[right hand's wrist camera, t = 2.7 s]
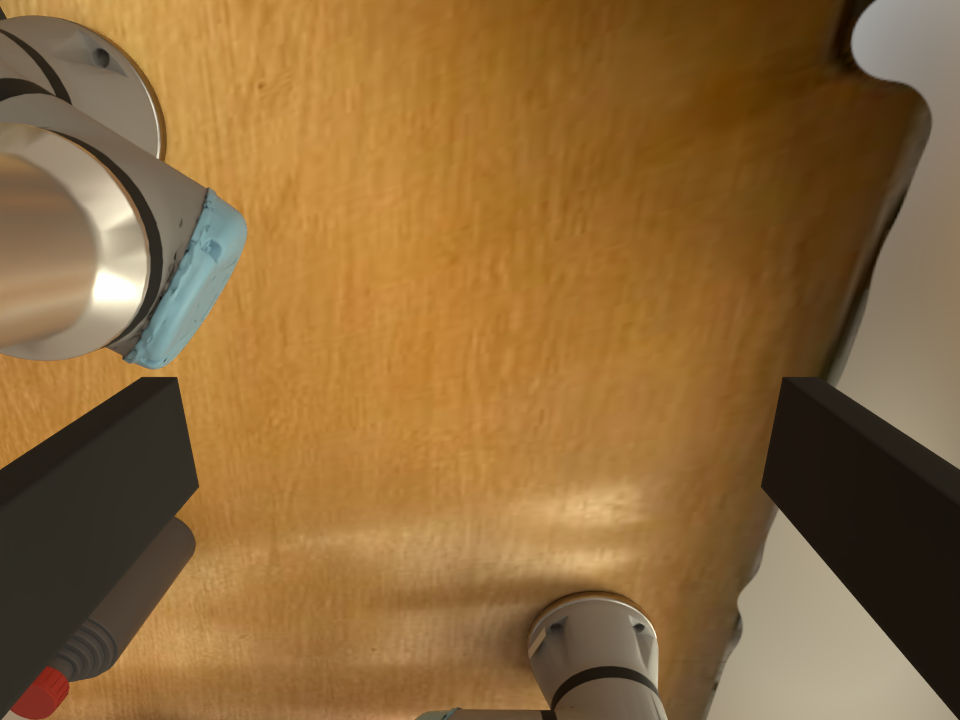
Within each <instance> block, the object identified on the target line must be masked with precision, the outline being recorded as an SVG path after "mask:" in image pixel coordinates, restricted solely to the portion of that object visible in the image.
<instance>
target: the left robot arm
mask: <svg viewBox="0 0 960 720" xmlns="http://www.w3.org/2000/svg"><path fill="white" fill-rule="evenodd" d="M166 144H167V143H166V127H165V121H164V116H163V113H162V109H161V106H160V103H159V101H158V98H157V96H156V93H155V91H154V89H153V87H152V86H151V84H150V82H149V80H148V79H147V77H146V76H145V74H144V73H143V71H142V70H141V69H140V67H139V66H138V65H137V64H136V62H135V61H134V60H133V59H132V58H131V57H130V56H129V55H128V54H127V53H126V52H125V51H124V50H123V49H122V48H121V47H119V46H118V45H117V44H116V43H114V42H113V41H112V40H110V39H109V38H107V37H105V36H104V35H102V34H101V33H99V32H97V31H95V30H93V29H90V28H88V27H86V26H83V25H80V24H77V23H74V22H71V21H68V20H64V19H60V18H55V17H46V16H19V17H14V18H9V19H7V18H6V16H5V14H4V13H3V11H2V9H1V7H0V353H1V354H5V355H9V356H12V357H16V358H22V359H28V360H42V361H52V360H65V359H70V358H74V357H79V356H82V355H85V354H87V353H90V352H93V351H96V350H98V349H101V348H104V347H107V348H109V349H111V350H113V351H115V352H117V353H119V354H121V355H123V358H122V359H123V360H124V361H126V362H128V363H135V364H138V365H140V366H143V367H145V368H148V369H159V368H162V367H164V366H166V365H167V364H169V363H170V362H171V361H172V360H173V359H174V358H175V357H176V356H177V355H178V354H179V353H180V352H181V351H182V349H183V348H184V347H185V346H186V345H187V343H188V342H189V341H190V339H191V338H192V337H193V335H194V334H195V332H196V331H197V330H198V328H199V327H200V325H201V324H202V323H203V321H204V320H205V318H206V317H207V315H208V313H209V312H210V310H211V309H212V307H213V305H214V304H215V302H216V300H217V299H218V297H219V295H220V294H221V292H222V290H223V289H224V287H225V285H226V283H227V282H228V280H229V278H230V276H231V274H232V272H233V270H234V268H235V266H236V264H237V262H238V260H239V258H240V255H241V253H242V251H243V248H244V245H245V242H246V238H247V224H246V221H245V219H244V217H243V216H242V215H241V213H240V212H239V211H237V210H236V209H235V208H233V207H232V206H231V205H229V204H228V203H226V202H225V201H224V200H222V199H221V198H220V197H218V196H217V195H216V192H215V191H214V190H212V189H210V188H209V187H208V188H205V187H203V186H202V185H200V184H198V183H197V182H195V181H193V180H192V179H190V178H189V177H187V176H185V175H184V174H182V173H180V172H179V171H177V170H176V169H174V168H172V167H171V166H169V165H168V164H166V163H164V160H165V155H166Z"/></svg>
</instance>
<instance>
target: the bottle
mask: <svg viewBox="0 0 960 720" xmlns="http://www.w3.org/2000/svg"><path fill="white" fill-rule="evenodd" d="M194 551H195V539H194V536H193V534H192V532H191V530H190V529H189V528H188V527H187V525H186V524H184V523H183V522H182V521H181V520H179V519H177V518H176V517H173V518H172V519H171V520H170V522H169V523H168V524H167V525H166V526H165V527H164V529H163V530H162V531H161V532H160V533H159V535H158V536H157V537H156V538H155V539H154V540H153V542H152V543H151V544H150V545H149V546H148V548H147V549H146V550H145V551H144V552H143V553H142V555H141V556H140V557H139V558H138V559H137V560H136V562H135V563H134V564H133V565H132V566H131V568H130V569H129V570H128V571H127V572H126V573H125V575H124V576H123V577H122V578H121V579H120V580H119V582H118V583H117V584H116V585H115V586H114V588H113V589H112V590H111V591H110V592H109V593H108V595H107V596H106V597H105V598H104V599H103V601H102V602H101V603H100V604H99V605H98V606H97V608H96V609H95V610H94V611H93V612H92V613H91V615H90V616H89V617H88V618H87V619H86V621H85V622H84V623H83V624H82V625H81V626H80V628H79V629H78V630H77V631H76V632H75V633H74V635H73V636H72V637H71V638H70V639H69V641H68V642H67V643H66V644H65V645H64V646H63V648H62V649H61V650H60V651H59V652H58V654H57V655H56V656H55V657H54V658H53V659H52V661H51V662H50V663H49V664H48V665H47V666H49V667H52V668H54V669H56V670H58V671H59V672H61V673H62V674H63V675H64V676H65V677H66V679H67V680H68V682H74V681H78V680H84V679H89V678H93V677H96V676H98V675H100V674H102V673H103V672H105V671H107V670H108V669H110V668H111V667H112V666H113V665H114V664H115V662H116V661H117V660H118V658H119V657H120V655H121V654H122V653H123V651H124V650H125V648H126V647H127V646H128V644H129V643H130V642H131V640H132V639H133V637H134V636H135V635H136V633H137V632H138V630H139V629H140V628H141V626H142V625H143V623H144V622H145V621H146V619H147V618H148V616H149V615H150V614H151V612H152V611H153V610H154V608H155V607H156V605H157V604H158V603H159V601H160V600H161V598H162V597H163V596H164V594H165V593H166V591H167V590H168V589H169V587H170V586H171V585H172V583H173V582H174V580H175V579H176V578H177V576H178V575H179V573H180V572H181V571H182V569H183V568H184V566H185V565H186V564H187V562H188V561H189V560H190V558H191V557H192V555H193V553H194Z"/></svg>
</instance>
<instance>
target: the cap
mask: <svg viewBox="0 0 960 720" xmlns="http://www.w3.org/2000/svg"><path fill="white" fill-rule="evenodd" d="M69 688H70V687H69V683H68V680H67V679H66V677H65V676H64V675H63V674H62V673H61V672H59V671H58V670H56V669H54V668H52V667H49V666H46V668H45V669H44V670H43V671H42V672H41V674H40V675H39V676H38V677H37V678H36V679H35V681H34V682H33V683H32V684H31V685H30V687H29V688H28V689H27V690H26V691H25V692H24V694H23V695H22V696H21V697H20V698H19V699H18V701H17V702H16V703H15V704H14V705H13V707H12V708H11V709H10V710H11V711H12V712H14V713H15V714H17V715H19V716H21V717H24V718H28V719H43V718H46V717H48V716H50V715H51V714H52V713H53V712H54V711H55V710H56V708H57V707H58V706H59V705H60V704H61V702H62V701H63V700H64V698H65V697H66V696H67V695H68V691H69Z"/></svg>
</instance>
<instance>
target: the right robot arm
mask: <svg viewBox="0 0 960 720" xmlns="http://www.w3.org/2000/svg"><path fill="white" fill-rule="evenodd" d="M198 487H199V484H198V479H197V474H196V469H195V464H194V459H193V454H192V449H191V444H190V439H189V434H188V429H187V424H186V419H185V414H184V409H183V404H182V399H181V394H180V389H179V384H178V379H177V377H141V378H140V379H138V380H137V381H135V382H134V383H132V384H131V385H129V386H127V387H126V388H124V389H123V390H121V391H120V392H118V393H117V394H115V395H114V396H112V397H111V398H109V399H108V400H106V401H105V402H103V403H101V404H100V405H98V406H97V407H95V408H94V409H92V410H91V411H89V412H88V413H86V414H85V415H83V416H82V417H80V418H79V419H77V420H76V421H74V422H72V423H71V424H69V425H68V426H66V427H65V428H63V429H62V430H60V431H59V432H57V433H56V434H54V435H53V436H51V437H50V438H48V439H46V440H45V441H43V442H42V443H40V444H39V445H37V446H36V447H34V448H33V449H31V450H30V451H28V452H27V453H25V454H24V455H22V456H20V457H19V458H17V459H16V460H14V461H13V462H11V463H10V464H8V465H7V466H5V467H4V468H2V469H1V470H0V720H1V719H2V718H3V717H4V716H5V715H6V714H7V712H8V711H9V710H10V709H11V708H12V707H13V705H14V704H15V703H16V702H17V701H18V699H19V698H20V697H21V696H22V695H23V694H24V692H25V691H26V690H27V689H28V688H29V687H30V685H31V684H32V683H33V682H34V681H35V679H36V678H37V677H38V676H39V675H40V674H41V672H42V671H43V670H44V669H45V668H46V666H47V665H48V664H49V663H50V662H51V661H52V659H53V658H54V657H55V656H56V655H57V654H58V652H59V651H60V650H61V649H62V648H63V646H64V645H65V644H66V643H67V642H68V641H69V639H70V638H71V637H72V636H73V635H74V633H75V632H76V631H77V630H78V629H79V628H80V626H81V625H82V624H83V623H84V622H85V621H86V619H87V618H88V617H89V616H90V615H91V613H92V612H93V611H94V610H95V609H96V608H97V606H98V605H99V604H100V603H101V602H102V601H103V599H104V598H105V597H106V596H107V595H108V593H109V592H110V591H111V590H112V589H113V588H114V586H115V585H116V584H117V583H118V582H119V580H120V579H121V578H122V577H123V576H124V575H125V573H126V572H127V571H128V570H129V569H130V568H131V566H132V565H133V564H134V563H135V562H136V560H137V559H138V558H139V557H140V556H141V555H142V553H143V552H144V551H145V550H146V549H147V548H148V546H149V545H150V544H151V543H152V542H153V540H154V539H155V538H156V537H157V536H158V535H159V533H160V532H161V531H162V530H163V529H164V527H165V526H166V525H167V524H168V523H169V522H170V520H171V519H172V518H173V517H174V516H175V515H176V513H177V512H178V511H179V510H180V509H181V507H182V506H183V505H184V504H185V503H186V502H187V500H188V499H189V498H190V497H191V496H192V495H193V493H194V492H195V491H196V490H197V489H198ZM761 487H762V489H763V490H764V491H765V492H766V493H767V495H768V496H769V497H770V498H771V499H772V500H773V502H774V503H775V504H776V505H777V506H778V507H779V509H780V510H781V511H782V512H783V513H784V515H785V516H786V517H787V518H788V519H789V520H790V522H791V523H792V524H793V525H794V526H795V527H796V529H797V530H798V531H799V532H800V533H801V535H802V536H803V537H804V538H805V539H806V540H807V542H808V543H809V544H810V545H811V546H812V548H813V549H814V550H815V551H816V552H817V553H818V554H819V556H820V557H821V558H822V559H823V560H824V562H825V563H826V564H827V565H828V566H829V568H830V569H831V570H832V571H833V572H834V573H835V575H836V576H837V577H838V578H839V579H840V580H841V582H842V583H843V584H844V585H845V586H846V588H847V589H848V590H849V591H850V592H851V593H852V595H853V596H854V597H855V598H856V599H857V601H858V602H859V603H860V604H861V605H862V606H863V607H864V609H865V610H866V611H867V612H868V613H869V615H870V616H871V617H872V618H873V619H874V621H875V622H876V623H877V624H878V625H879V626H880V627H881V629H882V630H883V631H884V632H885V633H886V635H887V636H888V637H889V638H890V639H891V641H892V642H893V643H894V644H895V645H896V646H897V648H898V649H899V650H900V651H901V652H902V653H903V655H904V656H905V657H906V658H907V659H908V661H909V662H910V663H911V664H912V665H913V666H914V668H915V669H916V670H917V671H918V672H919V674H920V675H921V676H922V677H923V678H924V679H925V681H926V682H927V683H928V684H929V685H930V687H931V688H932V689H933V690H934V691H935V692H936V694H937V695H938V696H939V697H940V698H941V699H942V701H943V702H944V703H945V704H946V705H947V707H948V708H949V709H950V710H951V711H952V712H953V714H954V715H955V716H956V717H957V718H958V719H959V720H960V470H959V469H958V468H956V467H955V466H953V465H952V464H950V463H949V462H947V461H946V460H944V459H943V458H941V457H940V456H938V455H936V454H935V453H933V452H932V451H930V450H929V449H927V448H926V447H924V446H923V445H921V444H920V443H918V442H916V441H915V440H914V439H912V438H910V437H909V436H907V435H906V434H904V433H903V432H901V431H900V430H898V429H897V428H895V427H894V426H892V425H891V424H889V423H888V422H886V421H884V420H883V419H881V418H880V417H878V416H877V415H875V414H874V413H872V412H871V411H869V410H868V409H866V408H865V407H863V406H862V405H860V404H859V403H857V402H855V401H854V400H852V399H851V398H849V397H848V396H846V395H845V394H843V393H842V392H840V391H839V390H837V389H836V388H834V387H833V386H831V385H829V384H828V383H826V382H825V381H823V380H822V379H820V378H819V377H783V379H782V384H781V389H780V394H779V399H778V404H777V409H776V414H775V419H774V424H773V429H772V434H771V439H770V444H769V449H768V454H767V459H766V464H765V469H764V474H763V479H762V484H761ZM527 649H528V658H529V662H530V666H531V669H532V672H533V674H534V677H535V679H536V681H537V683H538V685H539V687H540V689H541V691H542V693H543V695H544V697H545V699H546V701H547V703H548V705H549V707H550V709H551V710H475V709H462V708H453V709H451V710H447V711H429V712H426V713H424V714H422V715H420V716H419V717H417V718H416V719H415V720H667V717H666V714H665V711H664V708H663V705H662V702H661V699H660V696H659V693H658V644H657V638H656V634H655V631H654V628H653V626H652V623H651V621H650V619H649V617H648V616H647V614H646V613H645V612H644V610H643V609H642V608H640V607H639V606H638V605H637V604H636V603H634V602H633V601H631V600H629V599H627V598H625V597H622V596H620V595H617V594H613V593H608V592H596V591H594V592H582V593H577V594H573V595H569V596H567V597H564V598H562V599H559V600H557V601H556V602H554V603H552V604H551V605H549V606H548V607H547V608H545V609H544V610H543V611H542V612H541V613H540V614H539V615H538V616H537V618H536V619H535V620H534V622H533V624H532V626H531V628H530V630H529V633H528V639H527Z"/></svg>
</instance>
